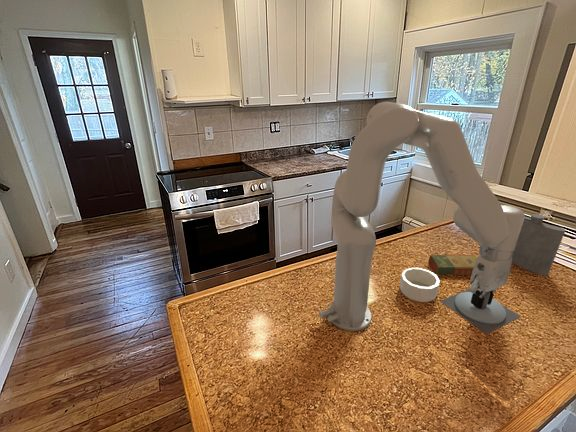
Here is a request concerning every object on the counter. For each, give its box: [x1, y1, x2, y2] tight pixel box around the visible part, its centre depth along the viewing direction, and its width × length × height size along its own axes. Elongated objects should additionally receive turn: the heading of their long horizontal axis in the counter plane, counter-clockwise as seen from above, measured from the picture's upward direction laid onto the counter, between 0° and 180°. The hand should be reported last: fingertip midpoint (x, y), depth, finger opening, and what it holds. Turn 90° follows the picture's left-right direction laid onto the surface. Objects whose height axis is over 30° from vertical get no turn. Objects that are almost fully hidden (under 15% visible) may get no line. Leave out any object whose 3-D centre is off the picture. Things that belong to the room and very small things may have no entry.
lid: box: [455, 288, 506, 324], centre depth 89 cm, size 13×13×6 cm
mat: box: [440, 289, 522, 335], centre depth 90 cm, size 15×15×1 cm
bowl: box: [399, 267, 441, 303], centre depth 97 cm, size 11×11×6 cm
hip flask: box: [511, 213, 566, 277], centre depth 107 cm, size 16×4×20 cm, turn 29°
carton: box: [427, 254, 478, 276], centre depth 109 cm, size 8×16×4 cm, turn 86°
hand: (480, 303), depth 89 cm, fingers closed on lid, 3 cm apart
